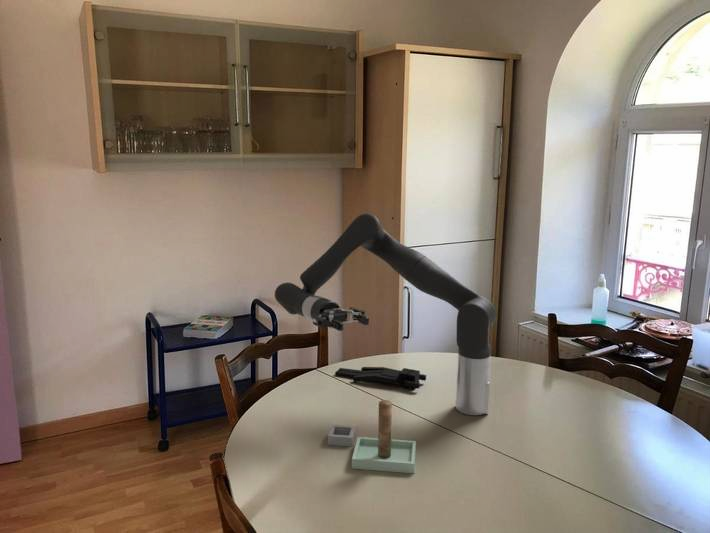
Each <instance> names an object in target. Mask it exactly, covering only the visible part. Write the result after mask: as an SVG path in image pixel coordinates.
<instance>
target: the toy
mask: <svg viewBox="0 0 710 533" xmlns="http://www.w3.org/2000/svg"><path fill="white" fill-rule="evenodd" d="M335 377H342V378H346V379H352V380H353V382H355V383H356V382H369V381H377V382H383V383H389V384H394V385H397V384H398V388H401V389H406V390H412V391H416V389H420V388H421V383H420V381H424V382H425V381H426V380H427V374H422V373H421V372H420V370H417V369H411V368H404V367H403V368H402V369H401V370H399V369H393V368H389V367H384V366H362V367H361V369H360V370H359V369H354V368H352V369H351V368H345V367H339V369H337V370H336V371H335Z"/></svg>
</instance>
